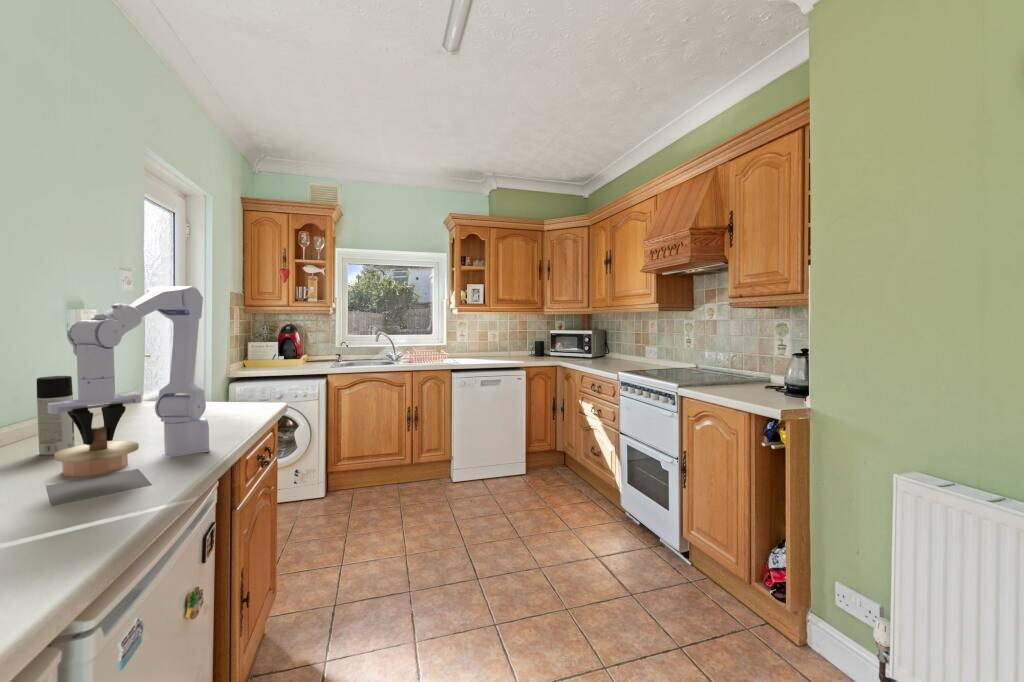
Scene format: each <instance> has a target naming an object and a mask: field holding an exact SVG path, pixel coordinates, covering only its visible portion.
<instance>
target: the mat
mask: <svg viewBox="0 0 1024 682" xmlns="http://www.w3.org/2000/svg"><path fill="white" fill-rule="evenodd" d="M152 485H153V484H152V483H151V481H150V480H149V479H148V478H147V477H146V476H145V475H144V474H143V472H141V470H140V469H139V468H136V469H135V468H134V469H129V470H125V471H119V472H113V473H107V474H106V473H105V474H103V475H102V474H101V475H96V476H95V475H94V476H92V477H85V478H78V479H75V480H70V481H69V480H68V481H64V482H58V483H54V484H52V483H51V484H47V485H45V486H46V492H47V495H48V499H49V503H50V506H51V507H54V506H58V505H59V506H60V505H62V504H68V503H72V502H78V501H82V500H86V499H92V498H97V497H102V496H105V495H110V494H111V495H112V494H115V493H121V492H125V491H131V490H134V489H141V488H145V487H149V486H152Z"/></svg>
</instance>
